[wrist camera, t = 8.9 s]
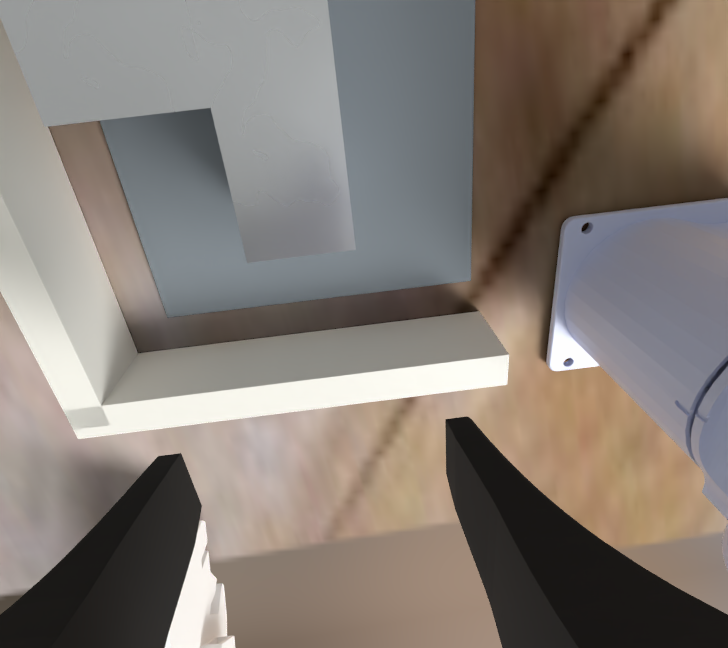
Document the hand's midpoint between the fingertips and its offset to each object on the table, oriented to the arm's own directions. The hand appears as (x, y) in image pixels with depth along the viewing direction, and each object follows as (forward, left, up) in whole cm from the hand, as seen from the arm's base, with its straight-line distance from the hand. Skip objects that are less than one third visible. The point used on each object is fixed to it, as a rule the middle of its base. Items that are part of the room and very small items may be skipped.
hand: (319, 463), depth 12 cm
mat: (0, -7, -10) cm, 12 cm away
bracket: (+2, -8, -10) cm, 13 cm away
